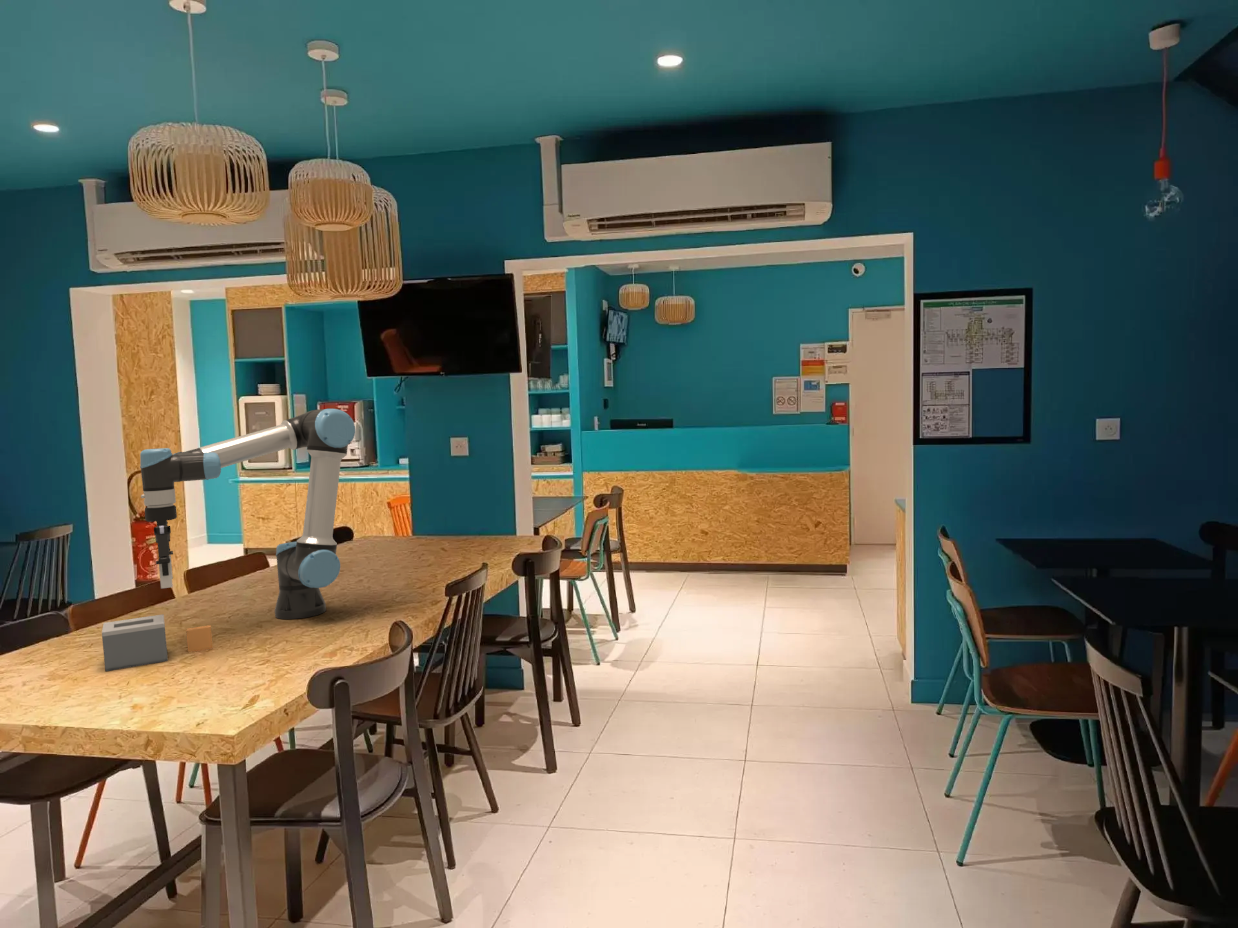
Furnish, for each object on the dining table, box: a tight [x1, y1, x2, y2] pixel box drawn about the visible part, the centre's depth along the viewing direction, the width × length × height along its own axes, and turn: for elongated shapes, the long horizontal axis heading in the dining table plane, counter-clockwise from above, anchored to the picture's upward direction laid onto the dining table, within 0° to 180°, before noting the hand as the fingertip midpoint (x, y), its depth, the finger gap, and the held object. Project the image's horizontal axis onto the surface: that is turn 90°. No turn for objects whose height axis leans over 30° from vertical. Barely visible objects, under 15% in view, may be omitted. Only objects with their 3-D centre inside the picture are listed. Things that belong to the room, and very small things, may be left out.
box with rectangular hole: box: [101, 614, 169, 672], centre depth 223 cm, size 14×12×10 cm
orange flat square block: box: [185, 624, 214, 653], centre depth 231 cm, size 6×2×6 cm, turn 119°
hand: (167, 583), depth 231 cm, fingers open, 13 cm apart
